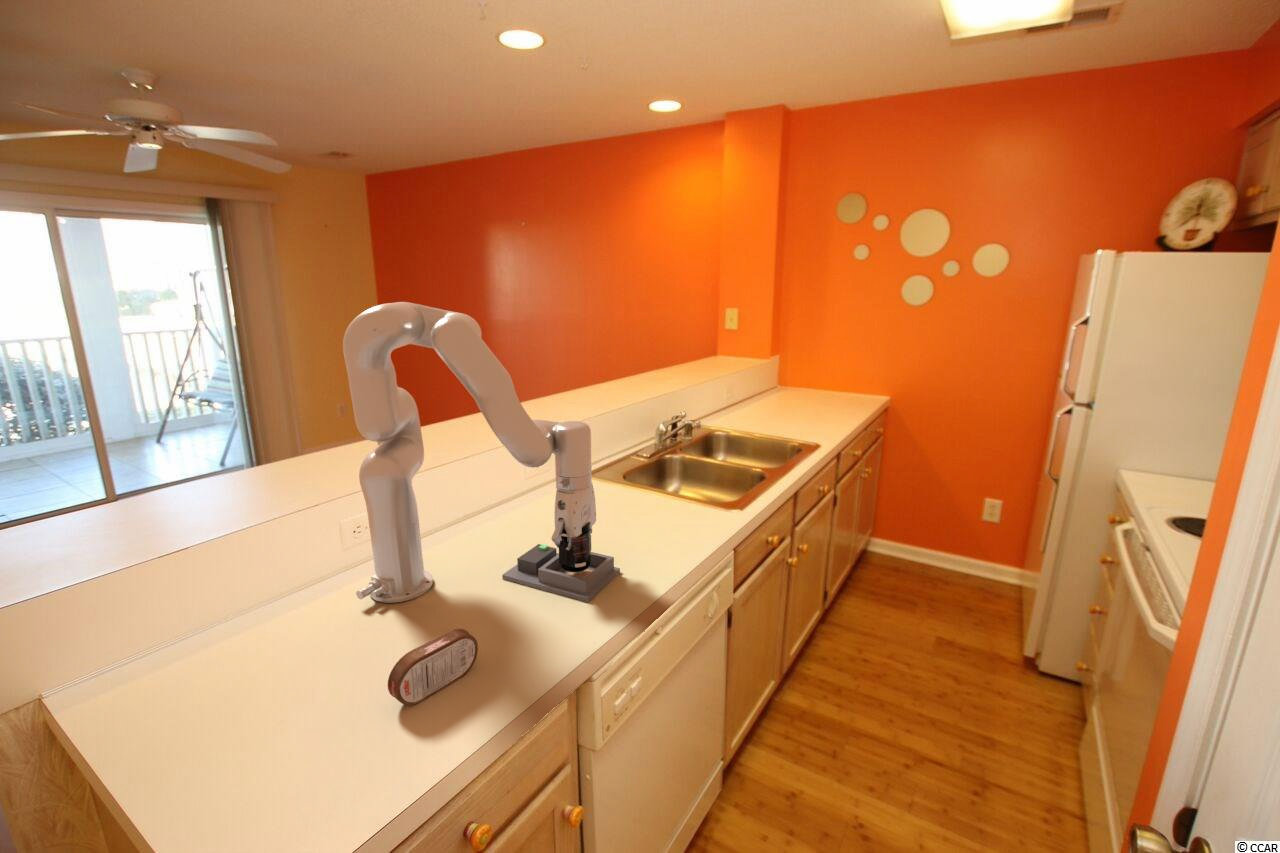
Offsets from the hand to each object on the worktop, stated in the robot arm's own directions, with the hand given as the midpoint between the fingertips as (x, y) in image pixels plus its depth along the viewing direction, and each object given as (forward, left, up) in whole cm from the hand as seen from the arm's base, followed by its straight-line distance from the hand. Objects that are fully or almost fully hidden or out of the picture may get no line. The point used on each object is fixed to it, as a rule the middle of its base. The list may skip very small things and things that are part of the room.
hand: (575, 556), depth 127 cm
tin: (-39, +2, -6) cm, 40 cm away
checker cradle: (0, +4, -6) cm, 7 cm away
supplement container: (0, 0, -2) cm, 2 cm away
